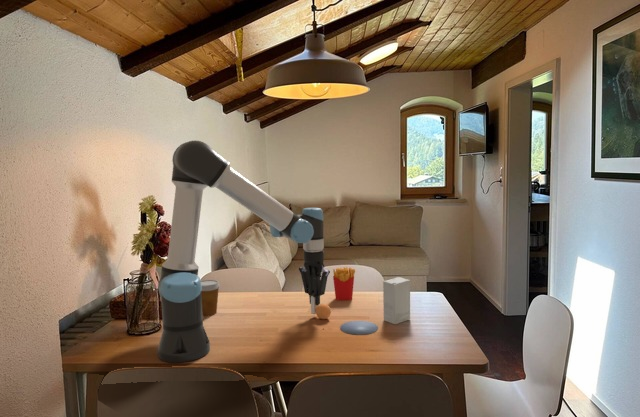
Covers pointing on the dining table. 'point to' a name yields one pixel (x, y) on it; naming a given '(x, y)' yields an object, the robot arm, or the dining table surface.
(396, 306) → the skincare box
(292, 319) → the dining table surface
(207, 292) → the disposable coffee cup
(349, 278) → the french fries
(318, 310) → the ball
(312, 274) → the robot arm
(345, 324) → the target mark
